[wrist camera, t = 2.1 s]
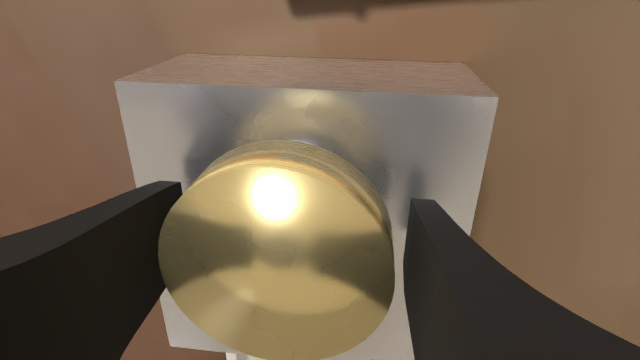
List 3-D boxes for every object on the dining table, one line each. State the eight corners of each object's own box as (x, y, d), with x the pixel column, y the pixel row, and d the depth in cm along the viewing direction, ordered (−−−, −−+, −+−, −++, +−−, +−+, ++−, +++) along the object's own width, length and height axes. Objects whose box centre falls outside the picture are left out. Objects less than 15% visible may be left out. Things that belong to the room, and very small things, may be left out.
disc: (199, 305, 12) (176, 349, 11) (172, 133, 10) (138, 160, 8) (383, 325, 12) (384, 373, 10) (403, 146, 9) (407, 177, 8)
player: (213, 269, 20) (148, 383, 14) (185, 53, 15) (74, 96, 10) (426, 289, 18) (447, 421, 13) (463, 62, 14) (518, 117, 9)
